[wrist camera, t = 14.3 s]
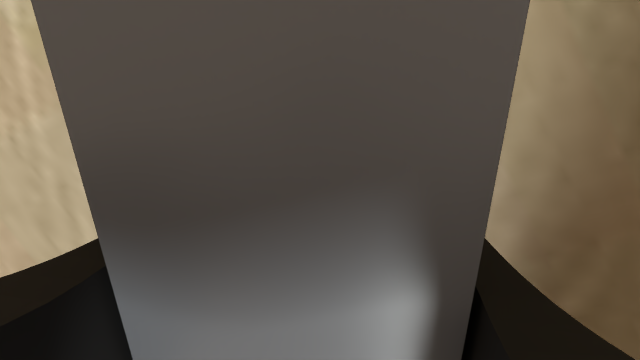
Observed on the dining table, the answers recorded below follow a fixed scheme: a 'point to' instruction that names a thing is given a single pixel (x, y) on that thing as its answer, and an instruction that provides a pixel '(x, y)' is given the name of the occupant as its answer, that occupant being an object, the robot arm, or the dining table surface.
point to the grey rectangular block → (288, 167)
